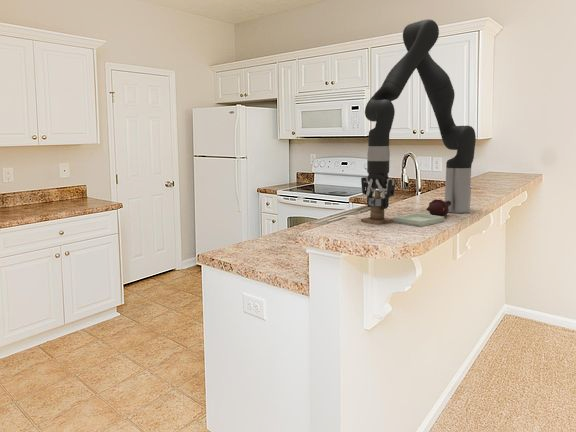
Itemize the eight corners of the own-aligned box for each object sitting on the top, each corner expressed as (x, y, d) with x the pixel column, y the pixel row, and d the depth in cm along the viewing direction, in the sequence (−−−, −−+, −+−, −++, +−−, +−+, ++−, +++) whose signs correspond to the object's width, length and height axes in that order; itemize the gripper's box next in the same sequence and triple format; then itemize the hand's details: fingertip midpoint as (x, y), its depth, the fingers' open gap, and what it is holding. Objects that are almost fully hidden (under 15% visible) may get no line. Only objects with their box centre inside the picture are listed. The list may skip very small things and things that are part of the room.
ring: (378, 202, 167) (378, 195, 166) (391, 204, 162) (391, 197, 162) (363, 205, 162) (363, 197, 162) (376, 206, 157) (376, 199, 157)
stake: (376, 218, 169) (376, 188, 167) (393, 221, 162) (394, 190, 161) (360, 221, 164) (361, 190, 162) (378, 224, 158) (379, 192, 156)
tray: (416, 217, 170) (416, 212, 170) (444, 221, 161) (444, 216, 161) (392, 222, 162) (392, 217, 161) (420, 226, 153) (420, 221, 152)
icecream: (438, 203, 161) (460, 202, 171) (421, 196, 166) (443, 196, 176) (432, 221, 163) (454, 220, 173) (415, 214, 169) (437, 213, 178)
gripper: (402, 159, 156) (400, 209, 159) (369, 158, 167) (369, 204, 170) (387, 160, 152) (386, 211, 154) (355, 159, 163) (354, 206, 166)
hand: (377, 207), depth 162 cm, fingers closed on ring, 6 cm apart
